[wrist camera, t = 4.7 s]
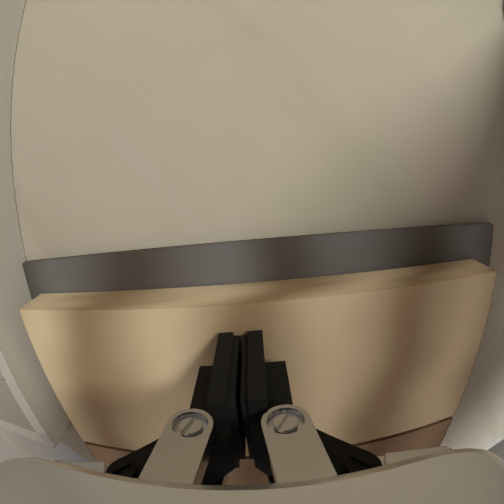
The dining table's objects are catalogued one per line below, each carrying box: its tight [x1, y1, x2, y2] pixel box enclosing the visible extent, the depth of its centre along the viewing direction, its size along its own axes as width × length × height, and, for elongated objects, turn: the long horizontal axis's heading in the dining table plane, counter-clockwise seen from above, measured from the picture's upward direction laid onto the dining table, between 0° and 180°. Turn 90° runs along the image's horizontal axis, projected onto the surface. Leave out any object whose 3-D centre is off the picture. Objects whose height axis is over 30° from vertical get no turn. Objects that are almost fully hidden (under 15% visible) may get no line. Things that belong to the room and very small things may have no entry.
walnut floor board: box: [22, 223, 493, 485], centre depth 14 cm, size 25×22×2 cm
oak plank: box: [19, 259, 497, 456], centre depth 13 cm, size 22×9×2 cm, turn 95°
